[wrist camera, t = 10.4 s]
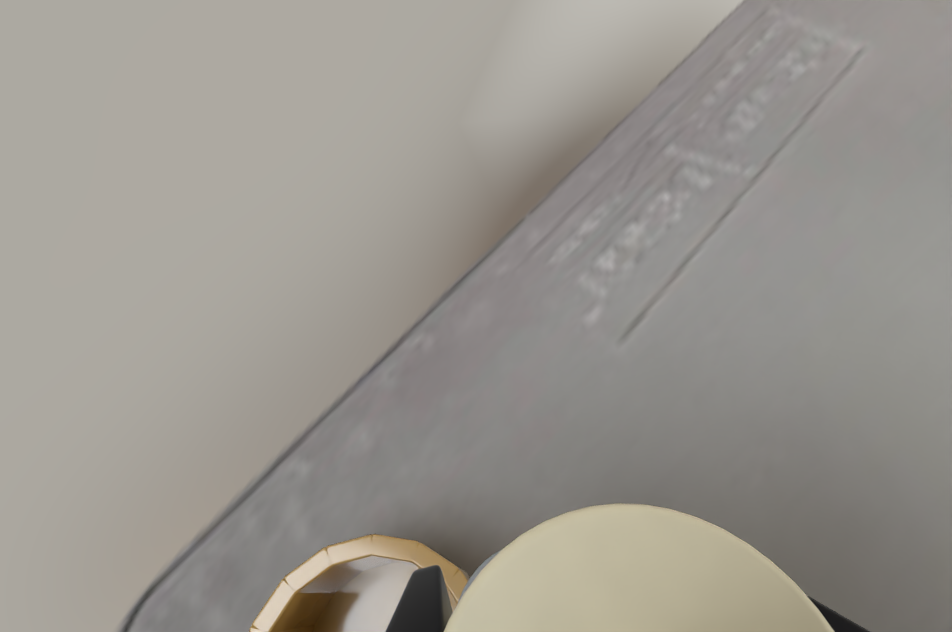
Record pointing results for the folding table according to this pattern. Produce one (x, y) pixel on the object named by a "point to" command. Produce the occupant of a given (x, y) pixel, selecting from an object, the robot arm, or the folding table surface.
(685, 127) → the folding table surface
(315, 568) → the holder
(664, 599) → the kitchen roll stand
